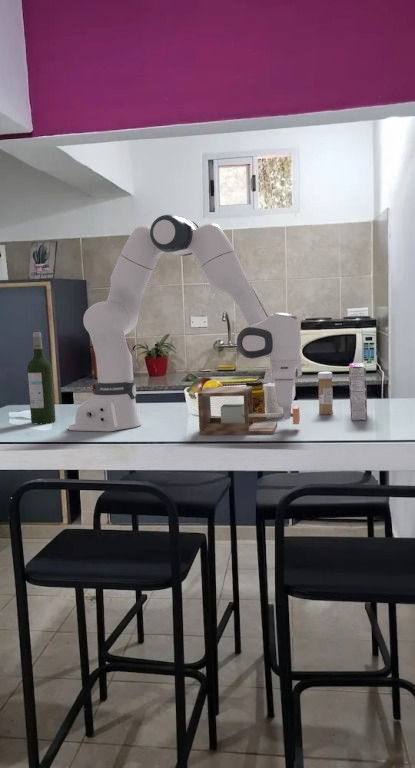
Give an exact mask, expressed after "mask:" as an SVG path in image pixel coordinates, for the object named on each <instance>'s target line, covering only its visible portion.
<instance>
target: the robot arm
mask: <svg viewBox="0 0 415 768" xmlns="http://www.w3.org/2000/svg"><path fill="white" fill-rule="evenodd" d="M166 253H167V254H170V255H175V256H182V257H183V256H184V257H185V256H190V255H194V256H195V259H196V260H197V262H198V265H199V267H200V270H201V271H202V273H203V276H204V277H205V279H206V280H207V282H208V283H209V285H210V286H211V288H213V290H216V291H217V292H220V293H222V294H223V295H225V296H227V297H229V298H230V299H231V300H232V301H233V302H234V303H236V305H237V307H238V309H239V311H241V313H242V315H243V317H244V319H245V321H246V323H247V325H248V326H246V327H244V328H243V329H241V331H239V332H238V335H237V337H236V347H237V349H238V352H239V354H241V355H242V356H243V357H244V358H247V359H250V360H252V359H253V360H258V359H262V358H263V359H264V358H269V359H270V360H269V365H270V369H269V370H270V377H272V378H271V379H272V380H274V383H275V389H276V397H277V403H278V406H279V407H283V412H284V417H283V419H284V420H289V419H291V417H290V413H292V405H293V401H294V399H295V397H296V382H298V377H300V376H302V375H303V372H302V371H303V370H302V356H301V352H300V351H301V344H302V342H301V341H302V339H301V337H302V335H301V328H300V322H299V319H298V317H297V316H296V315H294V314H293V313H292V314H291V313H288V312H272V313H270V314H269V316H268V313H266V310H265V308H264V307H263V304H262V303H261V301H260V299H259V297H258V296H257V294H256V292H255V290H254V289H253V287H252V285H251V283H250V280H249V278H248V277H247V275H246V273H245V270H244V268H243V265H242V264H241V261H240V259H239V256H238V255H237V252H236V250H235V248H234V246H233V244H232V243H231V241H230V240H229V238H228V236H227V235H226V232H224V230H223V229H222V228H221V226H219V224H216V223H206V224H203V225H201V226H199V225H197V224H196V223H195V222H194V221H192V220H190V219H188V218H185V217H184V216H179V215H178V216H177V215H175V214H163V215H161V216H158V217H157V218H156V219H154V221H153V222H152V224H151V226H149V225H139V226H137V227H136V228H135V229H134V230H133V231H132V233H131V235H130V236H129V237H128V238H127V241H126V242H125V244H124V246H123V247H122V250H121V251H120V255H119V256H118V259H117V261H116V264H115V266H114V268H113V271H112V272H111V274H110V280H109V281H110V287H109V293H108V297H107V299H106V301H98V302H96V303H94V304H92V305H91V306H90V307H88V308H87V309H86V311H85V312H84V314H83V319H82V320H83V327H84V328H85V330H86V331H87V332H88V334H89V337H90V340H91V343H92V348H93V351H94V356H95V361H96V375H97V376H96V377H97V382H95V383H94V384H93V385H91V386H90V390H91V391H92V395H91V396H90V397H88V398H87V399H86V400H85V401H83V403H82V404H81V405H79V406H78V407H77V410H76V413H75V420H74V422H72V423H70V424H69V425H68V430H69V431H80V432H81V431H83V432H114V431H115V432H116V431H118V430H126V429H133V428H137V427H139V426H141V425H142V422H141V419H140V417H139V412H138V407H137V402H136V397H137V387H136V380H135V379H134V368H133V367H134V366H133V356H132V353H131V352H130V350H129V349H130V348H129V347H128V343H127V339H126V335H127V334H129V333H131V332H132V331H133V330H134V329H135V328H136V327H137V325H138V322H139V313H140V308H141V304H142V301H143V296H144V294H145V292H146V288H147V287H148V284H149V281H150V279H151V277H152V274H153V273H154V270H155V268H156V266H157V263H158V262H159V260H160V258H161V257H162V256H163V255H165V254H166Z"/></svg>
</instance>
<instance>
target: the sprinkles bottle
mask: <svg viewBox="0 0 415 768" xmlns="http://www.w3.org/2000/svg"><path fill="white" fill-rule="evenodd" d="M317 379H318V414H320V415H332V414H333V413H334V411H333V410H334V409H333V401H334V400H333V398H334V397H333V372H332V371H319V372H317Z"/></svg>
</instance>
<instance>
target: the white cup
mask: <svg viewBox="0 0 415 768" xmlns="http://www.w3.org/2000/svg"><path fill="white" fill-rule="evenodd" d="M263 390H264V398H265V414H277V413H284V412H283V407H279V406H278V403H277V397H276V389H275V382H272V383H271V382H269V383H264V384H263Z"/></svg>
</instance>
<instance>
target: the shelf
mask: <svg viewBox="0 0 415 768" xmlns="http://www.w3.org/2000/svg"><path fill="white" fill-rule="evenodd" d="M248 394H249V414H253V399H252V386H248V387H246V386H219V387H218V386H214V387H212V386H210V387H204V388H203V389H202V390H200V391H199V392H197V404H198V406H197V407H198V409H197V410H198V425H199V435H200V436H220V435H221V436H227V435H229V436H230V435H233V436H234V435H235V436H236V435H237V436H238V435H241V436H242V435H243V436H245V435H275V431H276V430H277V428H278V422H254V421H253V417H248ZM242 396H243V404H244V417H245V423H221V416H214V417H213V416H212V408H211V397H242Z"/></svg>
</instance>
